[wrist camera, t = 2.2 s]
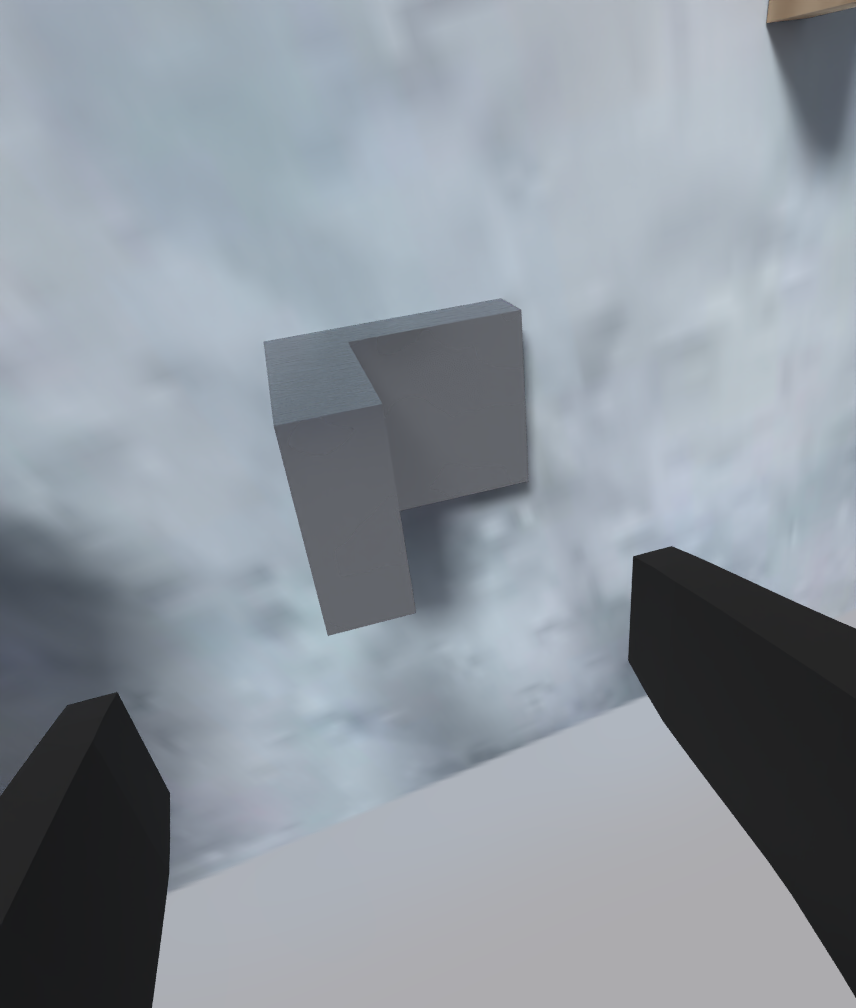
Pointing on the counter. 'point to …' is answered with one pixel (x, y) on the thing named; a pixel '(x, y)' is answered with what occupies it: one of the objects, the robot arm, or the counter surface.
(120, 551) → the counter surface
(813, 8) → the wooden corner frame
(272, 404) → the bracket
